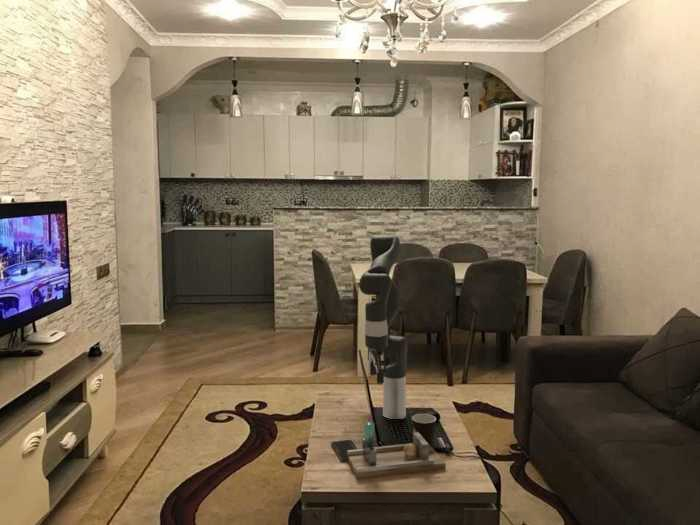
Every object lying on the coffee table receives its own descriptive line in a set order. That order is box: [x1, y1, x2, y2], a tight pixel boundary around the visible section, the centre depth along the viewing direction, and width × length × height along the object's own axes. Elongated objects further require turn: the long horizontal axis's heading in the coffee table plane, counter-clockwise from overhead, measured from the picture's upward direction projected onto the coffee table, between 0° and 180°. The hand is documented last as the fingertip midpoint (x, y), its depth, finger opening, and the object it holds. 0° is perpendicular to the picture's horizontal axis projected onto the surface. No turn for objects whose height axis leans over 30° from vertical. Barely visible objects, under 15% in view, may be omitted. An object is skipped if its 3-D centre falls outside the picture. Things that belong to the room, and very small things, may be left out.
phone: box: [330, 439, 358, 463], centre depth 211 cm, size 8×1×15 cm
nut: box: [404, 442, 417, 459], centre depth 202 cm, size 4×4×4 cm
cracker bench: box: [347, 432, 446, 480], centre depth 201 cm, size 15×30×8 cm, turn 103°
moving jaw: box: [362, 421, 376, 466], centre depth 198 cm, size 10×3×13 cm, turn 13°
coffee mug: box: [411, 413, 437, 445], centre depth 217 cm, size 12×9×10 cm
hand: (376, 378), depth 203 cm, fingers open, 8 cm apart
